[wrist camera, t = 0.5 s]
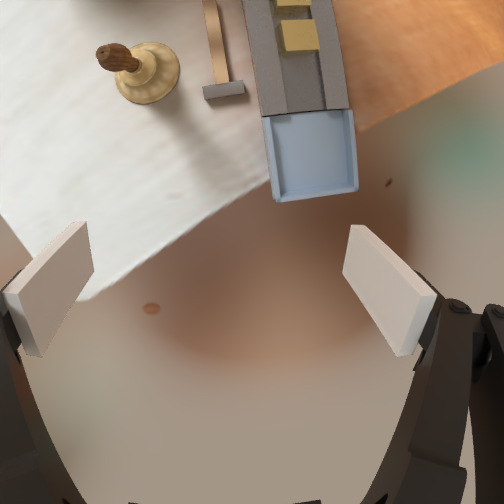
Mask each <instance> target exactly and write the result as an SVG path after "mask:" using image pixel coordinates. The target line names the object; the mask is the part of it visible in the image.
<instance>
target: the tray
mask: <svg viewBox="0 0 504 504" xmlns="http://www.w3.org/2000/svg"><path fill="white" fill-rule="evenodd" d="M261 119H262V125H263V132H264V139H265V146H266V152H267V159H268V166H269V173H270V181H271V188H272V194H273V199H274V200H275V202H276V203H282V202H288V201H294V200H301V199H308V198H314V197H321V196H328V195H335V194H342V193H349V192H356V191H359V183H358V165H357V151H356V139H355V128H354V119H353V110H331V111H317V112H306V113H295V114H286V115H277V116H269V117H262V118H261Z"/></svg>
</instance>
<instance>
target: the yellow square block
mask: <svg viewBox="0 0 504 504" xmlns="http://www.w3.org/2000/svg"><path fill="white" fill-rule="evenodd" d="M271 1H272V6H273V12H274V13H291V12H306V11H307V10H308V9H309V8H310V6H311V0H271Z"/></svg>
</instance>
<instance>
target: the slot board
mask: <svg viewBox="0 0 504 504" xmlns="http://www.w3.org/2000/svg"><path fill="white" fill-rule="evenodd" d="M242 5H243V11H244V16H245V22H246V27H247V33H248V39H249V45H250V51H251V56H252V62H253V68H254V75H255V81H256V87H257V93H258V99H259V106H260V112H261V116H267V115H275V114H283V113H292V112H301V111H313V110H327V109H343V108H349V102H348V94H347V86H346V79H345V72H344V66H343V59H342V53H341V47H340V42H339V36H338V31H337V26H336V21H335V16H334V11H333V7H332V2H331V0H311V6H310V8H309V9H308V10H307V11H306V12H291V13H274V12H273V6H272V1H271V0H242ZM304 19H315V24H316V29H317V35H318V40H319V46H320V50H318V51H317V52H315V53H313V54H296V55H281V50H280V44H279V38H278V33H277V25H278V24H279V22H280V21H281V20H304Z"/></svg>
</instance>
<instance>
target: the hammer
mask: <svg viewBox="0 0 504 504" xmlns="http://www.w3.org/2000/svg"><path fill="white" fill-rule="evenodd" d="M202 2H203V8H204V14H205V20H206V27H207V33H208V39H209V45H210V52H211V58H212V64H213V70H214V76H215V82H216V84H215V85H209V86H204V87H202V88H203V94H204V99H205V100H207V99H213V98H219V97H225V96H231V95H237V94H244V93H245V91H244V85H243V80H240V81H234V82H229V77H228V71H227V65H226V59H225V53H224V47H223V40H222V34H221V28H220V22H219V16H218V10H217V4H216V0H203V1H202Z"/></svg>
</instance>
